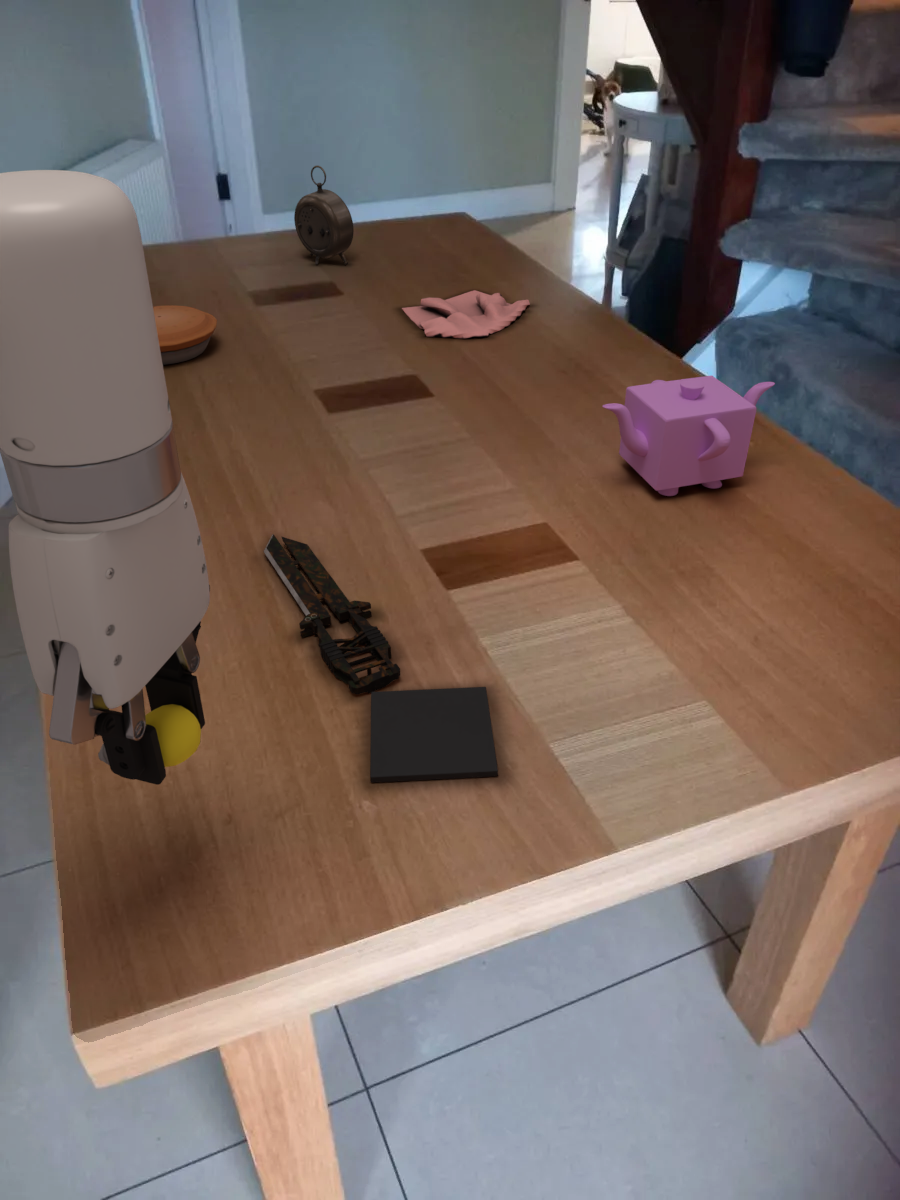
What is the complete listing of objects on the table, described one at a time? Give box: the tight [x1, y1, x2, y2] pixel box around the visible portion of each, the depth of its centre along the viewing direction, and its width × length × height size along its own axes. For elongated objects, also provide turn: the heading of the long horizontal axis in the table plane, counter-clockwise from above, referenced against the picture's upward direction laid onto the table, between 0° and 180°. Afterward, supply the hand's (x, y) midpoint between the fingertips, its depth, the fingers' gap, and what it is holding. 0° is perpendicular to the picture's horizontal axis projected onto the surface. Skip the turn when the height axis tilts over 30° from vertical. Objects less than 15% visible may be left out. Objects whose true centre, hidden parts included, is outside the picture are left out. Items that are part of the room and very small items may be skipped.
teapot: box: [601, 375, 776, 497], centre depth 98 cm, size 15×13×11 cm
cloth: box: [401, 289, 531, 340], centre depth 143 cm, size 20×22×2 cm
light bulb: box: [97, 704, 202, 768], centre depth 52 cm, size 3×6×4 cm, turn 103°
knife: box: [263, 533, 401, 696], centre depth 81 cm, size 25×6×1 cm, turn 22°
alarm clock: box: [293, 165, 355, 266], centre depth 163 cm, size 11×5×16 cm, turn 53°
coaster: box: [369, 686, 499, 783], centre depth 68 cm, size 9×9×1 cm
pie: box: [153, 304, 218, 366], centre depth 131 cm, size 15×16×5 cm
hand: (159, 747), depth 53 cm, fingers closed on light bulb, 3 cm apart
